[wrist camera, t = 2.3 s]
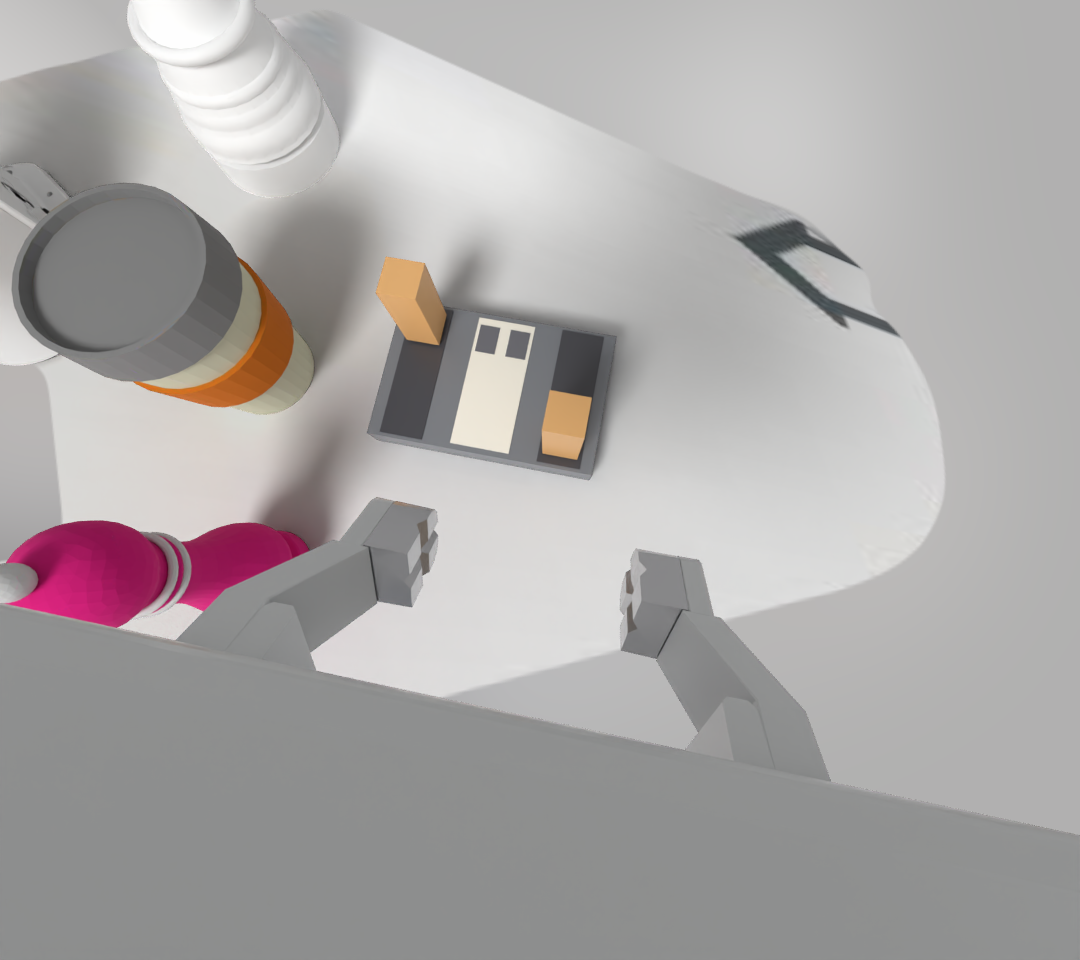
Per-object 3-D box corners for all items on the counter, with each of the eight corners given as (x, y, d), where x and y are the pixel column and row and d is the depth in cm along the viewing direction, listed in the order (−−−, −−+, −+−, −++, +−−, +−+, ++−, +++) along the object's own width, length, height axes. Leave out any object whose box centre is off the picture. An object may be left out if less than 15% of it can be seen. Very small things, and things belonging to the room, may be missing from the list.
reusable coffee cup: (334, 307, 42) (218, 173, 27) (330, 429, 40) (202, 357, 25) (209, 314, 42) (23, 184, 27) (198, 436, 40) (-9, 369, 25)
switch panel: (588, 480, 38) (592, 475, 36) (378, 440, 39) (366, 432, 37) (612, 349, 40) (616, 335, 38) (411, 314, 41) (402, 298, 39)
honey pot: (318, 208, 44) (160, -27, 26) (202, 185, 44) (-29, -61, 26) (355, 106, 46) (233, -177, 28) (244, 85, 46) (55, -205, 28)
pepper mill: (236, 532, 38) (-97, 513, 18) (315, 520, 38) (69, 488, 18) (238, 613, 37) (-115, 688, 17) (320, 601, 37) (63, 660, 17)
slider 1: (439, 345, 38) (415, 299, 31) (406, 339, 38) (375, 292, 31) (446, 315, 38) (424, 263, 31) (414, 309, 38) (385, 256, 31)
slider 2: (576, 459, 36) (584, 438, 29) (542, 453, 36) (541, 430, 29) (583, 426, 36) (592, 397, 29) (548, 420, 36) (549, 389, 29)
